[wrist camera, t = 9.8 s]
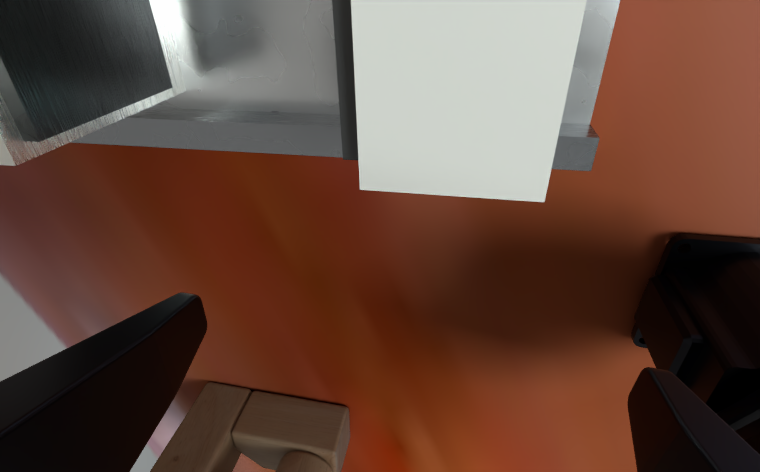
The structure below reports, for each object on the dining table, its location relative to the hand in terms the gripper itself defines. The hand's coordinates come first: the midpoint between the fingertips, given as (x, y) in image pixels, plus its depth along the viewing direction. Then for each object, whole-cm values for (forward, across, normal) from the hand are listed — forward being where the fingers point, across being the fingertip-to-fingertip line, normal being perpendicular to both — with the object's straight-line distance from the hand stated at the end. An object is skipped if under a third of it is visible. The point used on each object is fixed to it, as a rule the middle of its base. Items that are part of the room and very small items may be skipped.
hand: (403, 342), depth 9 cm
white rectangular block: (+10, 0, -5) cm, 12 cm away
